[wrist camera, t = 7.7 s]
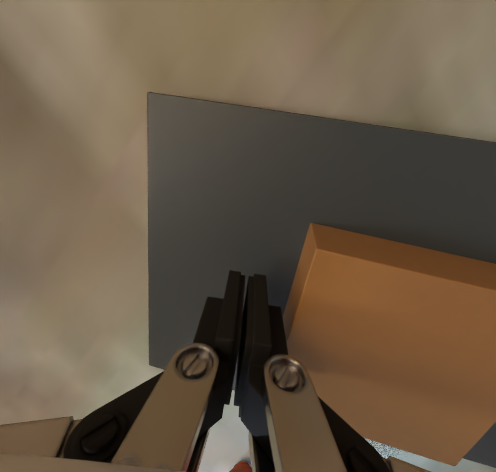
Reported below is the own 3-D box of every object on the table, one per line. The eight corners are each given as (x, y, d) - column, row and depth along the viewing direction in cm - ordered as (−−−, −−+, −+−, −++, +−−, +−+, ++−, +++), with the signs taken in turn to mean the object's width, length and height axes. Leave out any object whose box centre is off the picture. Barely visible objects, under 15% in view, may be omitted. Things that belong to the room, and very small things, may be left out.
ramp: (154, 353, 16) (103, 460, 11) (156, 95, 11) (46, 42, 5) (455, 394, 17) (552, 515, 12) (614, 173, 11) (970, 201, 6)
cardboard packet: (264, 352, 13) (267, 440, 9) (300, 220, 10) (327, 267, 6) (405, 374, 14) (465, 468, 10) (479, 252, 11) (610, 316, 7)
